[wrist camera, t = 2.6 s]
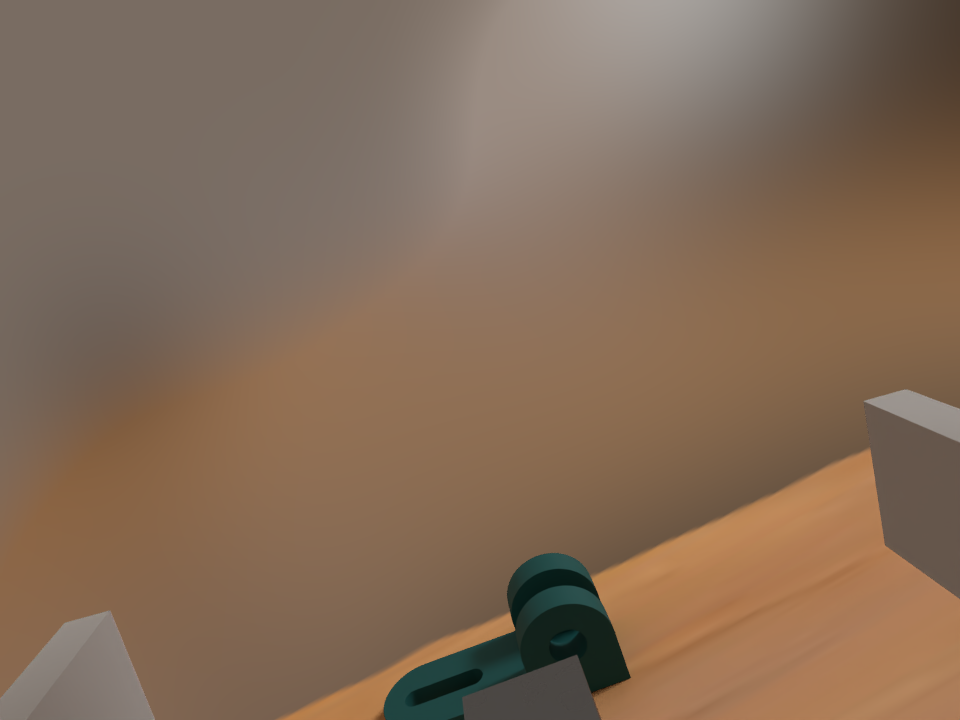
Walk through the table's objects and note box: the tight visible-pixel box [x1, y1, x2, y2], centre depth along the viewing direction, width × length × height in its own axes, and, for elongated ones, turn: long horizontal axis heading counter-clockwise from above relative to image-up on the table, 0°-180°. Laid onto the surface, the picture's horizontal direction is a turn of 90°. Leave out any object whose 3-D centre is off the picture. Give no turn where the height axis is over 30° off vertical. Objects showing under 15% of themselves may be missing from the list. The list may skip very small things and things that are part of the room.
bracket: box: [384, 553, 631, 720], centre depth 55 cm, size 18×7×8 cm, turn 96°
